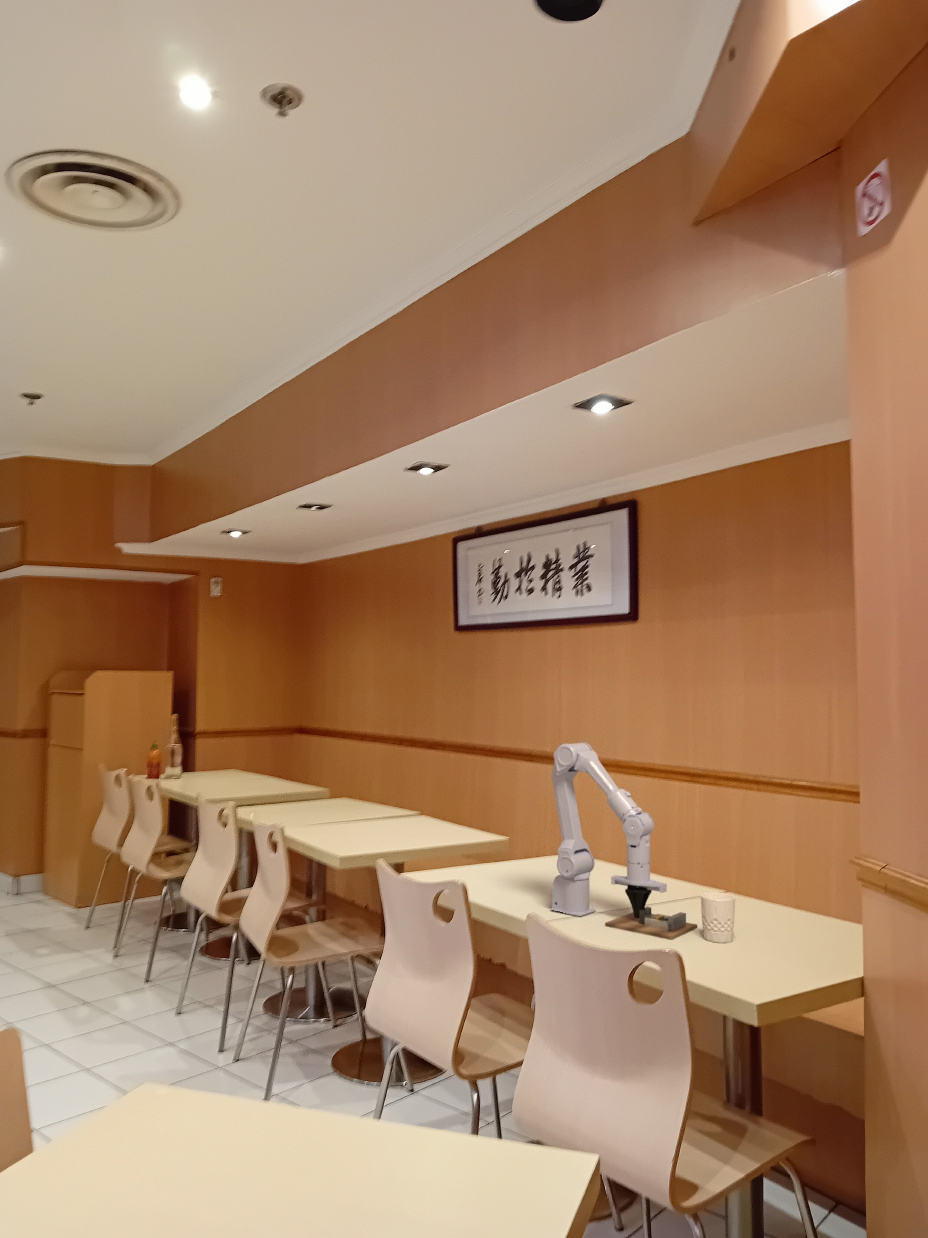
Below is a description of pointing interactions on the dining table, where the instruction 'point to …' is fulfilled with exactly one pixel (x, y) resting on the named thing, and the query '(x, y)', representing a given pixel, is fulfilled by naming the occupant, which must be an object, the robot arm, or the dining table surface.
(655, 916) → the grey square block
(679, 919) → the gauge body
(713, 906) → the white cup
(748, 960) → the dining table surface
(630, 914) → the walnut board
